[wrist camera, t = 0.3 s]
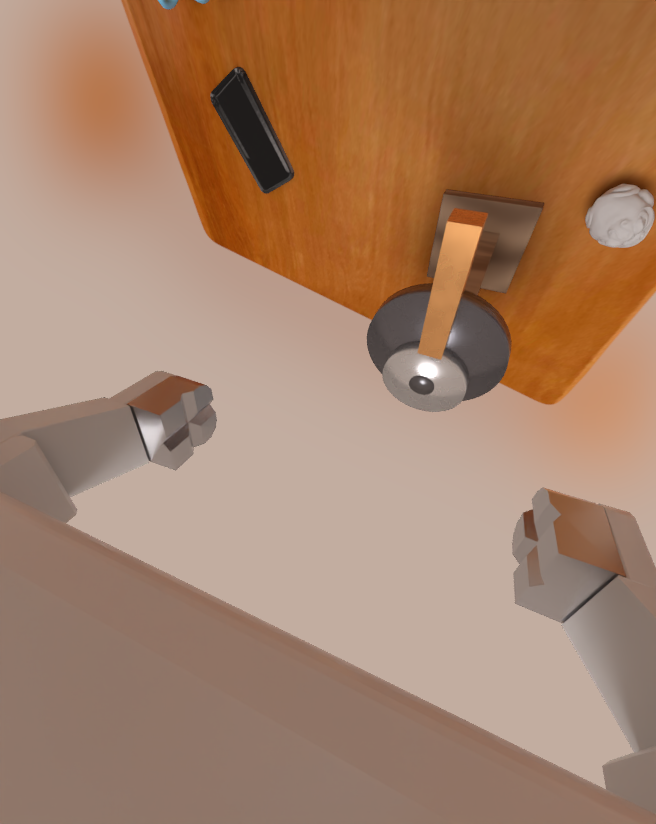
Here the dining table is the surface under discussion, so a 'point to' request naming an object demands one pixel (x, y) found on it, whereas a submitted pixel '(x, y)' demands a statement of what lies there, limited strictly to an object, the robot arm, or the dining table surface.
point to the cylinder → (170, 1)
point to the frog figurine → (621, 216)
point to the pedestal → (465, 292)
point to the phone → (251, 130)
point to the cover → (439, 326)
